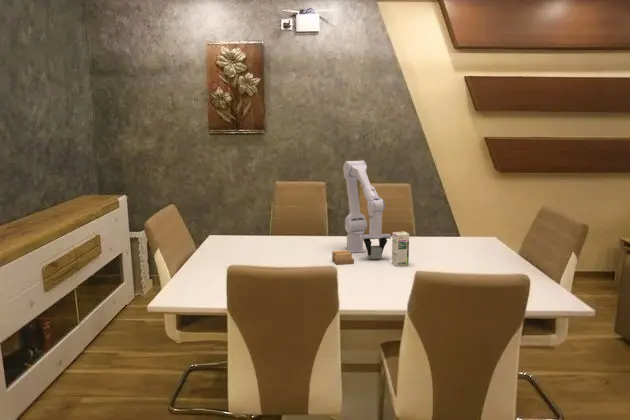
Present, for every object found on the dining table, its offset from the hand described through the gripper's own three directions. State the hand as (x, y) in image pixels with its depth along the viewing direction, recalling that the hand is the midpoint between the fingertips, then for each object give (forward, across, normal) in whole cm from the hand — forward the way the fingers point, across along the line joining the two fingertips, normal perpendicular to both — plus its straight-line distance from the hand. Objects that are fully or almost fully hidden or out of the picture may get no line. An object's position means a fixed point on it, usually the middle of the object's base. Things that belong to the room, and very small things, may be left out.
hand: (374, 254), depth 251 cm
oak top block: (0, -16, -2) cm, 17 cm away
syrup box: (+2, +8, -11) cm, 14 cm away
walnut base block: (+3, -16, -2) cm, 16 cm away
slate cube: (+1, 0, 0) cm, 1 cm away
